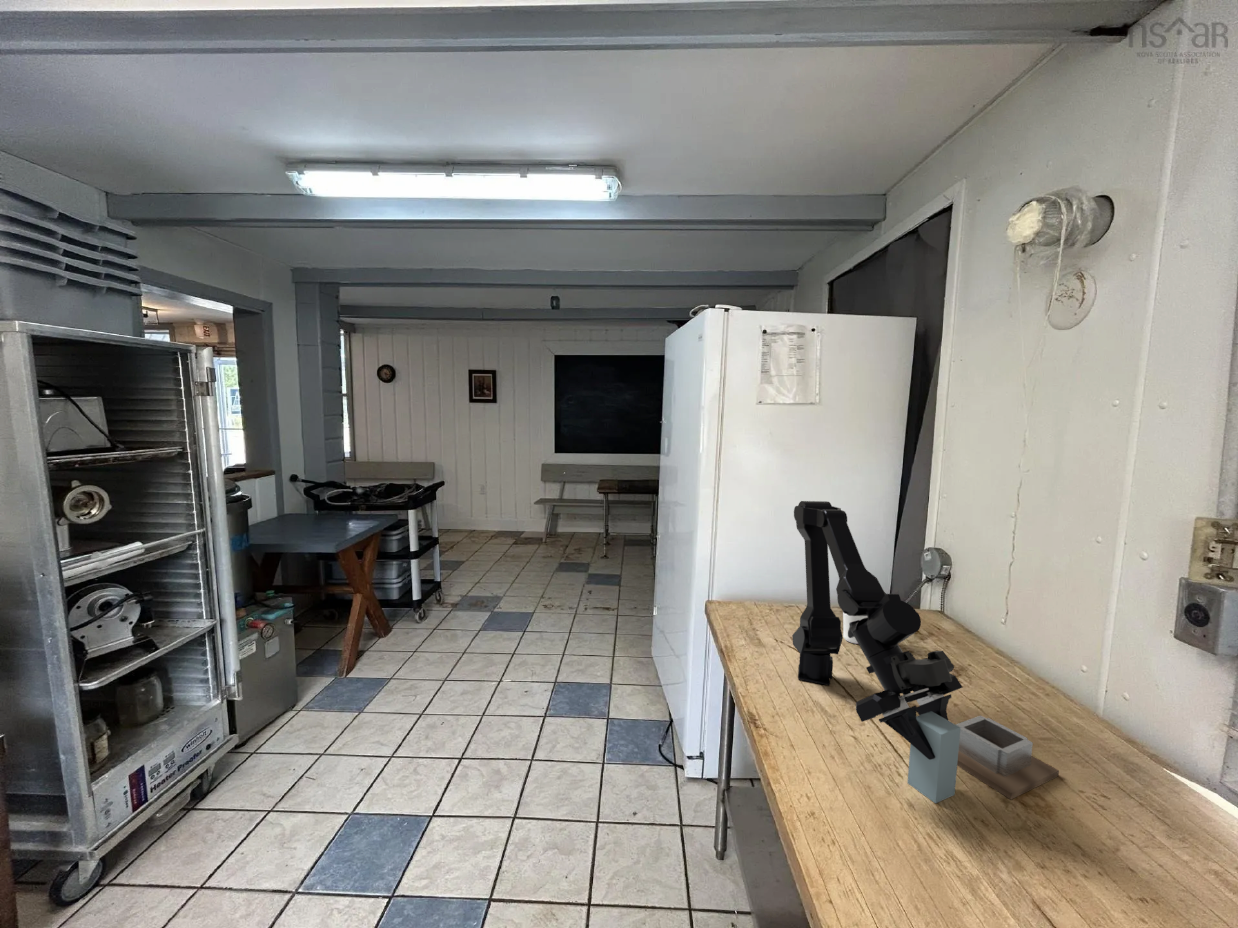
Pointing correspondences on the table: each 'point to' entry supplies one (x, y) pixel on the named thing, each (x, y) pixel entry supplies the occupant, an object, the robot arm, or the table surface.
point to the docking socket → (1000, 757)
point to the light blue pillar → (941, 771)
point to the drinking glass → (846, 621)
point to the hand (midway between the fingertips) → (942, 754)
